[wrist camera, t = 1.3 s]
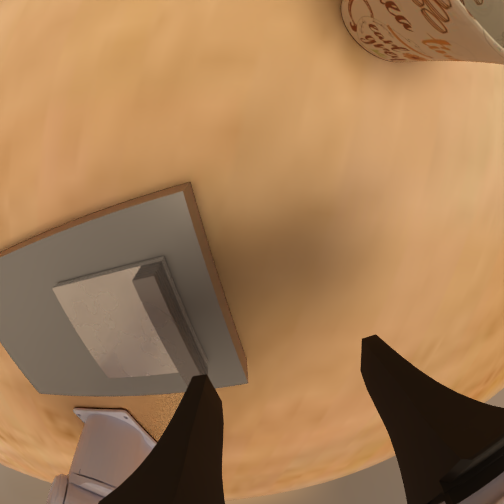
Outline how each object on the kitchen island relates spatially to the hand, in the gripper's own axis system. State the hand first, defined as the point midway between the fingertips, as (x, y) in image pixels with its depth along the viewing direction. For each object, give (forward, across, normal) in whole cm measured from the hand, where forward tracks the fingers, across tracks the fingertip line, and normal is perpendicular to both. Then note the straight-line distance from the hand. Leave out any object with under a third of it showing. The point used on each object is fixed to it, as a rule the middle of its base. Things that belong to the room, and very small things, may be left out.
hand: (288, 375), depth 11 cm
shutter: (+6, +9, 0) cm, 11 cm away
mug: (+9, -13, -16) cm, 22 cm away
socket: (+8, +14, 0) cm, 16 cm away
